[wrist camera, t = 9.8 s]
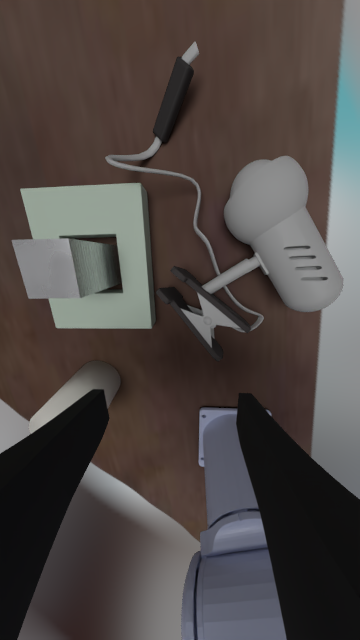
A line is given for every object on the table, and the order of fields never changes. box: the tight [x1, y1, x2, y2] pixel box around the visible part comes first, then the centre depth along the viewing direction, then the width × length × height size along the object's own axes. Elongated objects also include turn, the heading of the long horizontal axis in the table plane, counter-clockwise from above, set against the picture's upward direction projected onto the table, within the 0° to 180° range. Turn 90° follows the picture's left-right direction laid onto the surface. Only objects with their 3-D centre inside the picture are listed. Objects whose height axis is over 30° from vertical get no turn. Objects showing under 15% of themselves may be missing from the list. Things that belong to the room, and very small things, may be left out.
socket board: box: [20, 183, 156, 329], centre depth 16 cm, size 11×9×2 cm
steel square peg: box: [12, 238, 122, 298], centre depth 14 cm, size 3×3×7 cm
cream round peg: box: [29, 361, 121, 434], centre depth 18 cm, size 5×5×7 cm
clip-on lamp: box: [105, 42, 343, 361], centre depth 13 cm, size 12×6×18 cm
